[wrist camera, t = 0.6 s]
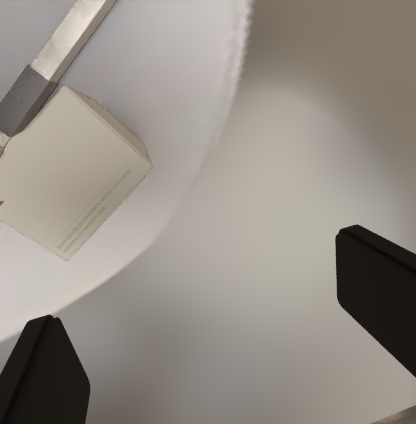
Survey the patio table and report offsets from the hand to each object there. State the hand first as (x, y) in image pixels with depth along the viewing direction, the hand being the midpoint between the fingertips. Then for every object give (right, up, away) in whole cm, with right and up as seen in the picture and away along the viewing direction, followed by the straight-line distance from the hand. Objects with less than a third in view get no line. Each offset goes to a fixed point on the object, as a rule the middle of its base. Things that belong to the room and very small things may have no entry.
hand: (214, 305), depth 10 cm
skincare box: (-12, +10, +21) cm, 26 cm away
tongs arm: (-14, +17, +17) cm, 28 cm away
